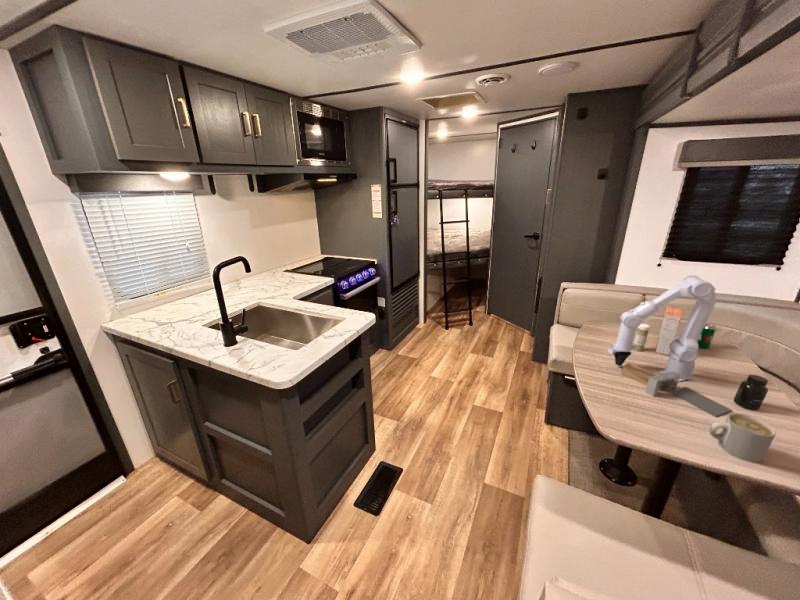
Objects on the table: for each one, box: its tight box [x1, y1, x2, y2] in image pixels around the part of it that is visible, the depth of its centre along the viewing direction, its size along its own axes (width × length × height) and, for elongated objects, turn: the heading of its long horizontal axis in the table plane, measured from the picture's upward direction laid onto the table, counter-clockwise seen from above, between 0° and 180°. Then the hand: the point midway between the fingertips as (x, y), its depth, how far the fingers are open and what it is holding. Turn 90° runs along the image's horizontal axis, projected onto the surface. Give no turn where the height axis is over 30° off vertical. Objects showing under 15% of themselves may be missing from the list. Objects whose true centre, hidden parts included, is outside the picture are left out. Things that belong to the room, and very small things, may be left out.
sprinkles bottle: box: [633, 323, 651, 352], centre depth 155 cm, size 5×5×14 cm
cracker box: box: [654, 305, 683, 357], centre depth 154 cm, size 14×6×21 cm, turn 138°
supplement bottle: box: [733, 374, 769, 411], centre depth 115 cm, size 7×7×12 cm
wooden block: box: [621, 362, 665, 391], centre depth 132 cm, size 4×14×5 cm, turn 30°
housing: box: [644, 371, 680, 397], centre depth 125 cm, size 13×3×7 cm, turn 108°
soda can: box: [697, 323, 717, 350], centre depth 157 cm, size 5×5×12 cm
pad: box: [669, 386, 733, 417], centre depth 119 cm, size 9×15×1 cm, turn 18°
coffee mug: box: [708, 412, 777, 463], centre depth 97 cm, size 13×10×10 cm
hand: (618, 364), depth 142 cm, fingers closed
